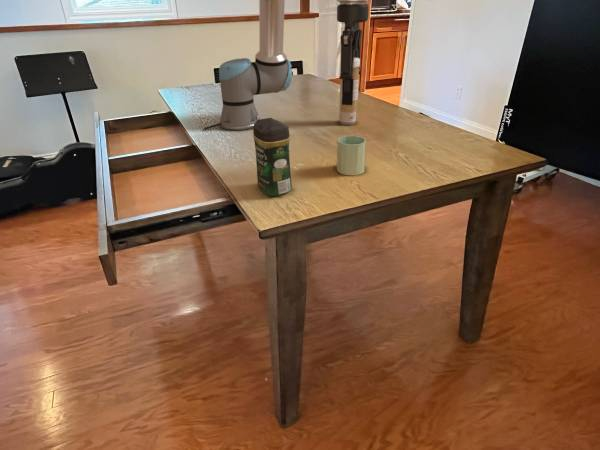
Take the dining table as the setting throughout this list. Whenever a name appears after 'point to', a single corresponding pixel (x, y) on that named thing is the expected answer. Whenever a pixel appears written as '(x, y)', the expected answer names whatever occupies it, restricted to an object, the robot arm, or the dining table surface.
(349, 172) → the cup
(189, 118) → the dining table surface
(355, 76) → the sprinkles bottle
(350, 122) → the travel mug
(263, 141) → the coffee jar
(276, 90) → the robot arm
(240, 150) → the dining table surface
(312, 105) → the dining table surface
